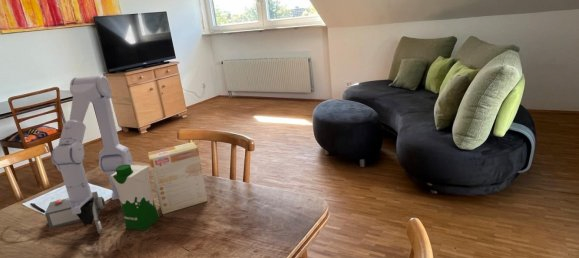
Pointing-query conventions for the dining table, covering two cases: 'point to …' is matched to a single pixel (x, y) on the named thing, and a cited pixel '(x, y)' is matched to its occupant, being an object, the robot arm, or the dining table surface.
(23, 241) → the dining table surface
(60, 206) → the box
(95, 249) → the dining table surface
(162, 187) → the coffeecake box
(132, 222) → the milk carton
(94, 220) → the side door
